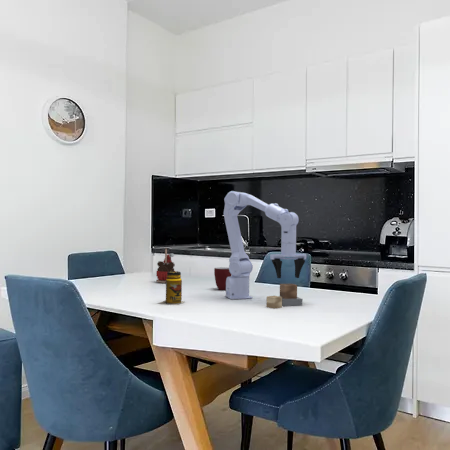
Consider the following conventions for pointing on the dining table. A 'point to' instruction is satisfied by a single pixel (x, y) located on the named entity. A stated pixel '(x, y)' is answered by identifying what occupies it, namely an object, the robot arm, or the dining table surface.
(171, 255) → the cake
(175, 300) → the condiment
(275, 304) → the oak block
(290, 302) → the slate base
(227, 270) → the mug
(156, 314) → the dining table surface
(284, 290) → the walnut cube
